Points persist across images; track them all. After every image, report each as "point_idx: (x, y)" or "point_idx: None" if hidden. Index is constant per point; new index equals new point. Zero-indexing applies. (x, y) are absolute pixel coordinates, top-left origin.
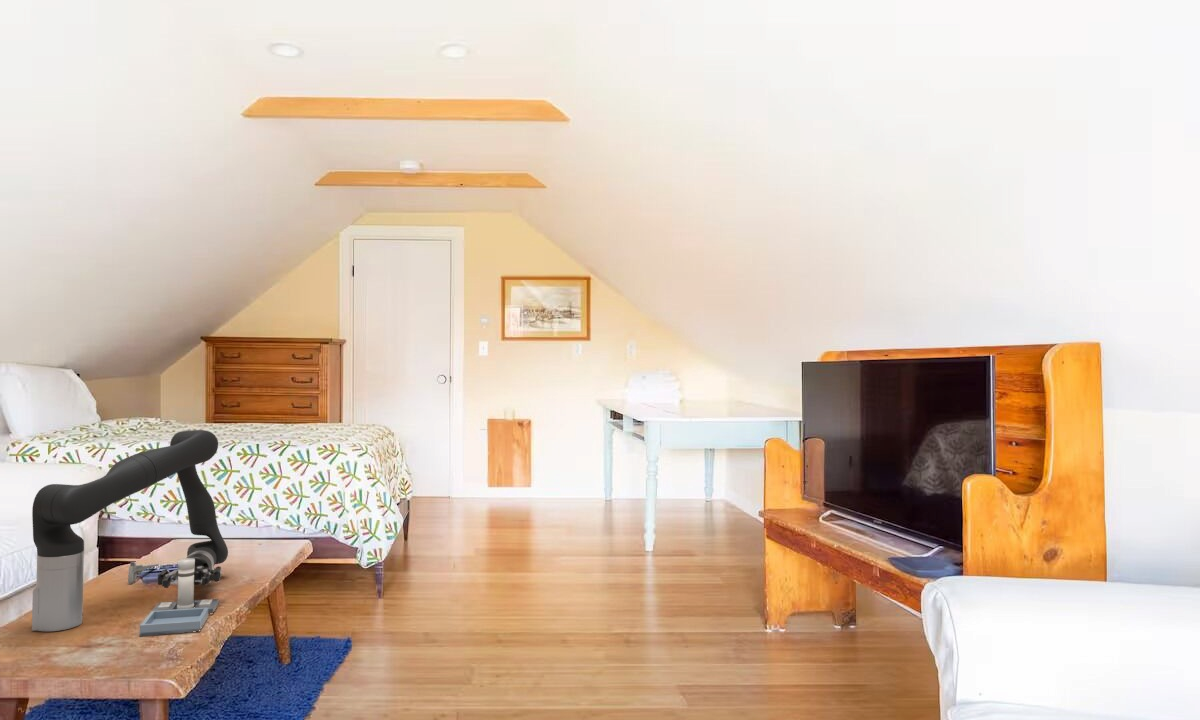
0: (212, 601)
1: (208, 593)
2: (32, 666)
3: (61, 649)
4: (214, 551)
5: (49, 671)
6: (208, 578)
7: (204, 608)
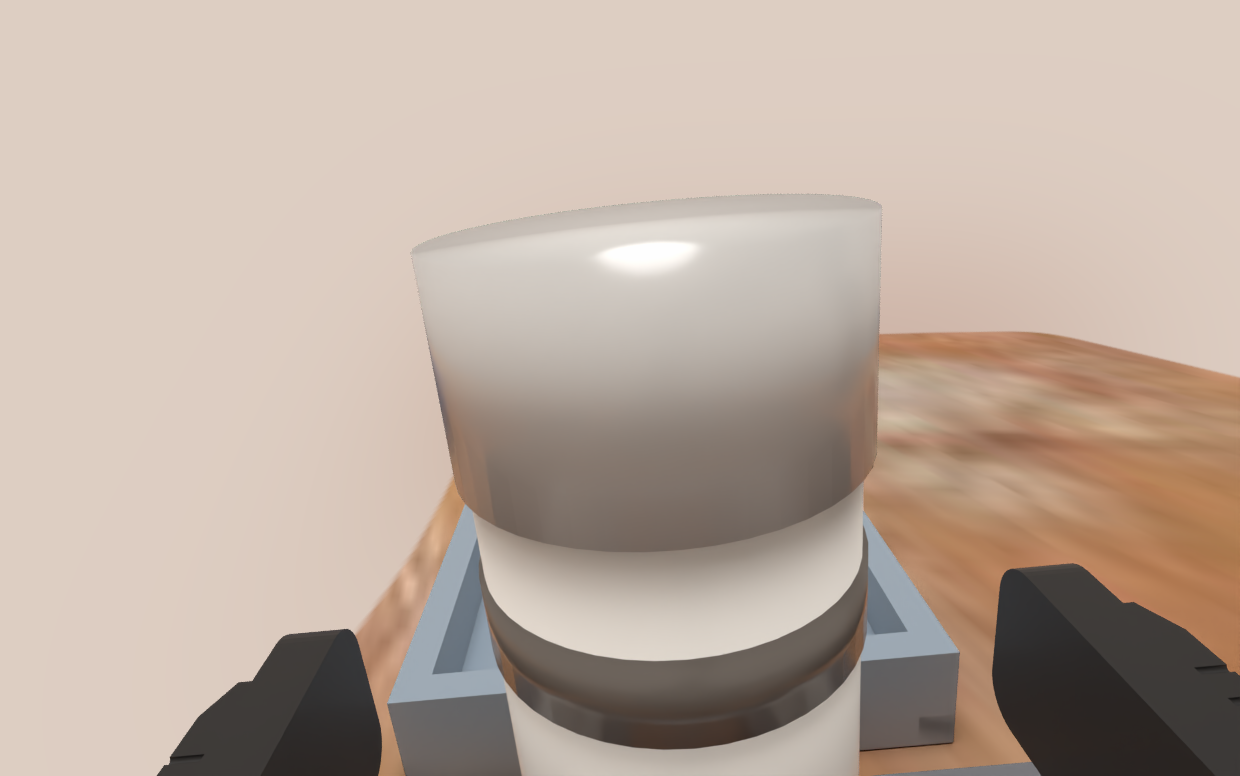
0: None
1: None
2: (1036, 353)
3: (1108, 421)
4: None
5: (931, 342)
6: (216, 714)
7: (429, 676)
